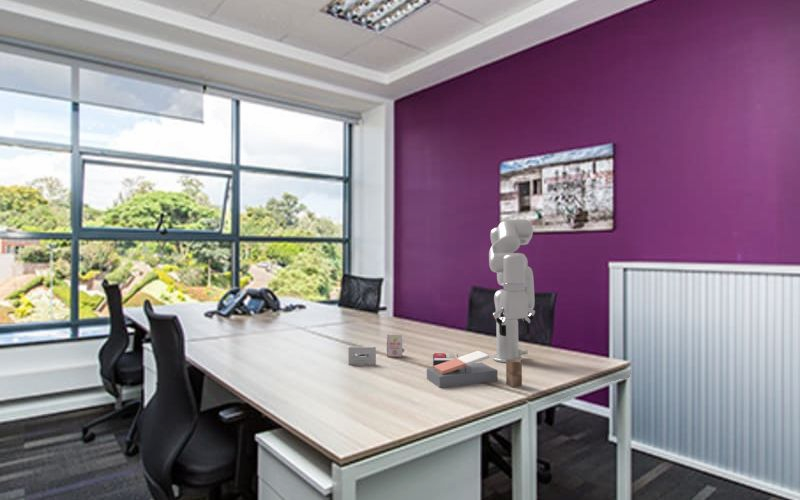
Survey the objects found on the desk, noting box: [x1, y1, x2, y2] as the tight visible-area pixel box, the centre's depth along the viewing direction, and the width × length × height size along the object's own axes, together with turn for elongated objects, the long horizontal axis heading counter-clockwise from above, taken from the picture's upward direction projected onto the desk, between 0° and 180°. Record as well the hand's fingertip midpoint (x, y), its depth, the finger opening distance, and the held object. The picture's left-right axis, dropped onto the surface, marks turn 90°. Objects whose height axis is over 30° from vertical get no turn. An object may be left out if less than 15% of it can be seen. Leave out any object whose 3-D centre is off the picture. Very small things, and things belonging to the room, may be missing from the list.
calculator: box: [432, 352, 459, 368], centre depth 196 cm, size 11×4×15 cm
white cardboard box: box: [386, 334, 403, 358], centre depth 211 cm, size 4×7×10 cm, turn 83°
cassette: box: [347, 346, 377, 366], centre depth 197 cm, size 12×2×8 cm, turn 87°
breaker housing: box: [426, 362, 499, 389], centre depth 173 cm, size 24×12×6 cm, turn 109°
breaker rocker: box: [434, 350, 490, 374], centre depth 173 cm, size 20×8×2 cm, turn 109°
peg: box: [505, 359, 523, 388], centre depth 165 cm, size 4×4×9 cm
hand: (514, 334), depth 166 cm, fingers open, 9 cm apart
